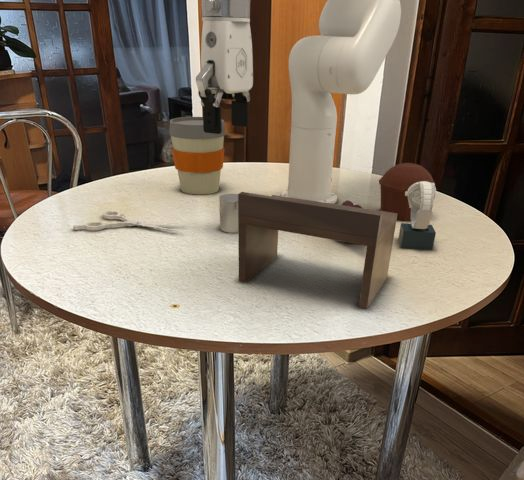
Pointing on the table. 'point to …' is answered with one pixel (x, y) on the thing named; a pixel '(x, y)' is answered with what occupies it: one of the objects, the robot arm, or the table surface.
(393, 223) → the shelf
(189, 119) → the reusable coffee cup
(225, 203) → the grey upright cylinder
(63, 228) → the table surface
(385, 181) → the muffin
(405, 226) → the head sculpture
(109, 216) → the scissors
